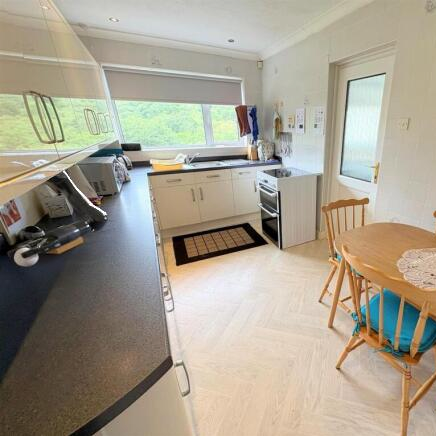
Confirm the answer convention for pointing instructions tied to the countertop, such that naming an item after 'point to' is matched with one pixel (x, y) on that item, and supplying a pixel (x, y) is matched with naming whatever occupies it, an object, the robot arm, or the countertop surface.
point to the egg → (25, 261)
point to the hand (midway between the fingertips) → (15, 255)
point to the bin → (66, 246)
